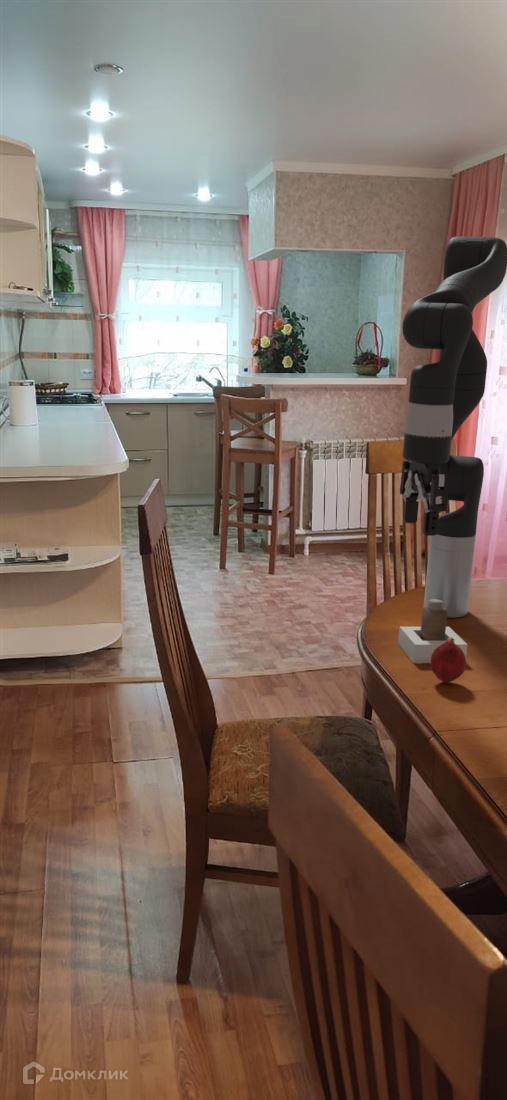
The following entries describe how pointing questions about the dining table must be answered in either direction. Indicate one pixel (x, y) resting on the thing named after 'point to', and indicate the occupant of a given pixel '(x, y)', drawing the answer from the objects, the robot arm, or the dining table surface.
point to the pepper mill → (433, 621)
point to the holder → (424, 644)
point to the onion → (448, 661)
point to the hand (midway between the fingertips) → (419, 528)
